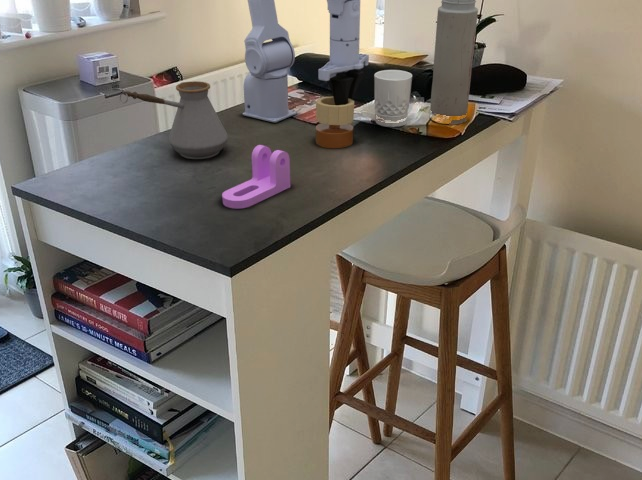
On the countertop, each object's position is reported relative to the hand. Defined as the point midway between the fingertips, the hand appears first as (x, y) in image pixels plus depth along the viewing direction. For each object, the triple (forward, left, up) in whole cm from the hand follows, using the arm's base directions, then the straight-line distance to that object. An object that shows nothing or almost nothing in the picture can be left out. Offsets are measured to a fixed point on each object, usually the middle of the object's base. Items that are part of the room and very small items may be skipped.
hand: (343, 109), depth 152 cm
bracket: (+4, -33, -6) cm, 34 cm away
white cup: (+3, +14, -6) cm, 15 cm away
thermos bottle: (+12, +23, -6) cm, 26 cm away
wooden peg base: (0, -3, -6) cm, 7 cm away
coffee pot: (-19, -28, -6) cm, 35 cm away
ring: (0, -3, -1) cm, 3 cm away
